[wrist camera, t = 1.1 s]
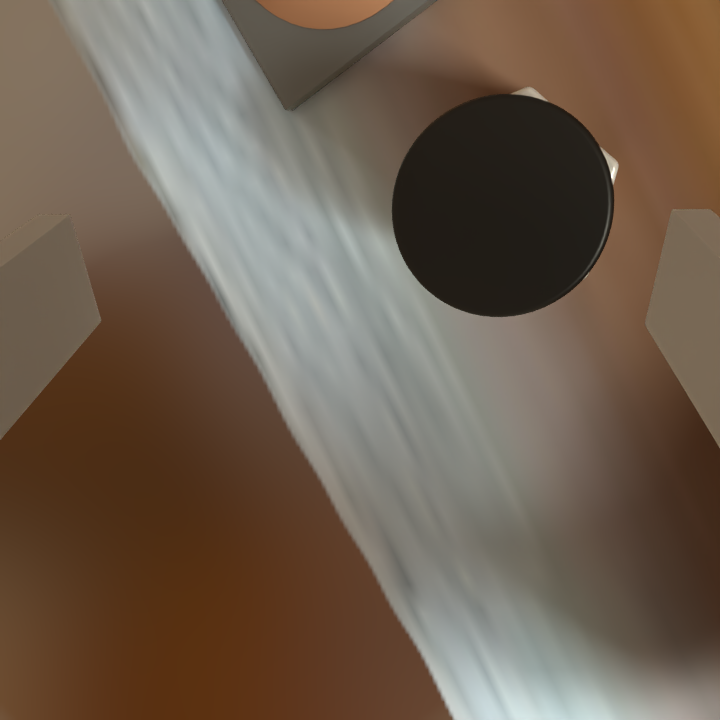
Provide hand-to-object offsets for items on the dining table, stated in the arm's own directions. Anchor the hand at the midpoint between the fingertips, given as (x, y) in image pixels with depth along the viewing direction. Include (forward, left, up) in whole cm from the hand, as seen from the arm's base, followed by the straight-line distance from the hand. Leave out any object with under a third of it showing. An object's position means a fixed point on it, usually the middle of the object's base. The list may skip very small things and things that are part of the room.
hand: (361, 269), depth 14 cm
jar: (-2, -1, -23) cm, 23 cm away
